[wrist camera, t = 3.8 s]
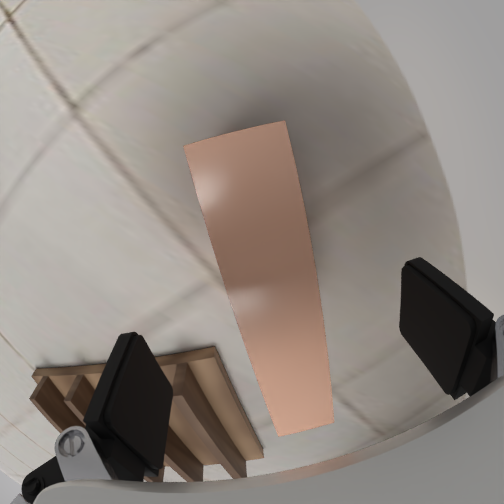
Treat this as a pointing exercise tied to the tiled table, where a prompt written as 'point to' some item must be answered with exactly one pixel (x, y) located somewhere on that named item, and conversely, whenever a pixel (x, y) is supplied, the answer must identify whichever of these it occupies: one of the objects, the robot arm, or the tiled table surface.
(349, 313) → the tiled table surface
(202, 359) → the slot rack
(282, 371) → the pink rectangular block
